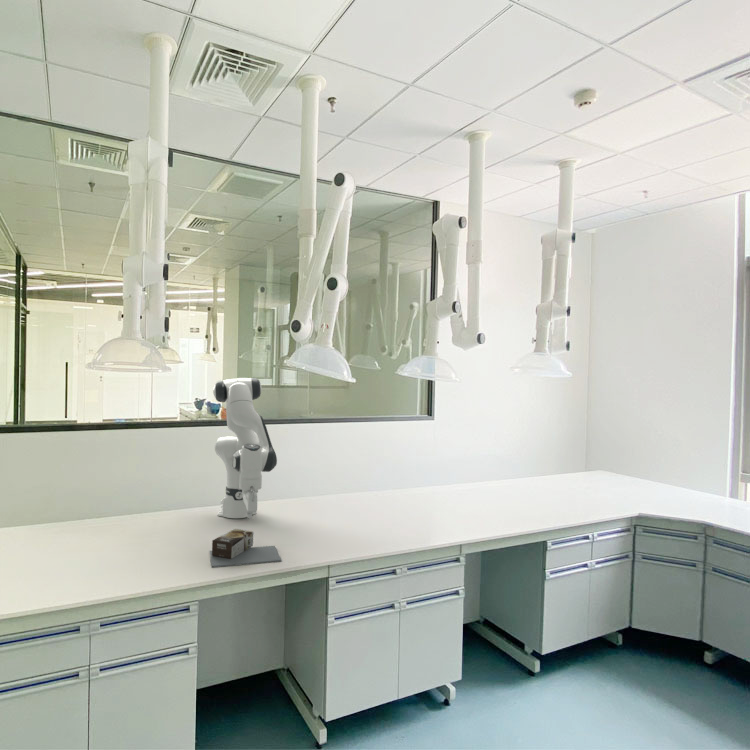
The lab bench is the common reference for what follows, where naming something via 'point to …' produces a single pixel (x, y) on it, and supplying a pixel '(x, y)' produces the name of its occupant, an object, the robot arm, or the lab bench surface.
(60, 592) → the lab bench surface
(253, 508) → the robot arm
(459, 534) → the lab bench surface
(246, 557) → the mat
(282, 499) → the lab bench surface
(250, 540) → the coffee box
